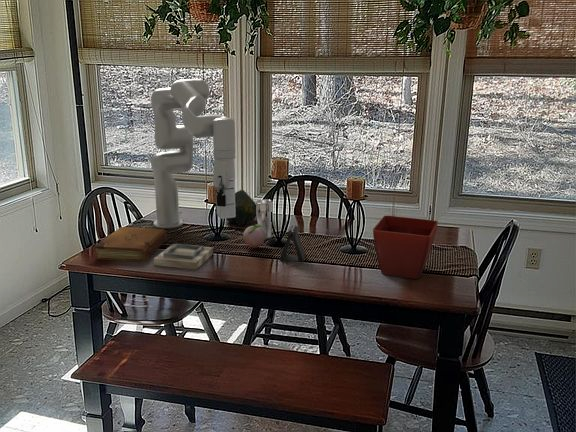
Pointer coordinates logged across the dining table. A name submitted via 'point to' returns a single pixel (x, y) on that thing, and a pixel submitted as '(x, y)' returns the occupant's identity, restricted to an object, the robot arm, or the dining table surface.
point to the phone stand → (298, 246)
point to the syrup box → (228, 201)
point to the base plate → (183, 256)
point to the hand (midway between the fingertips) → (225, 202)
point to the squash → (243, 209)
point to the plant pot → (403, 245)
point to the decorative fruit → (254, 235)
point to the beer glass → (264, 215)
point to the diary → (131, 244)
